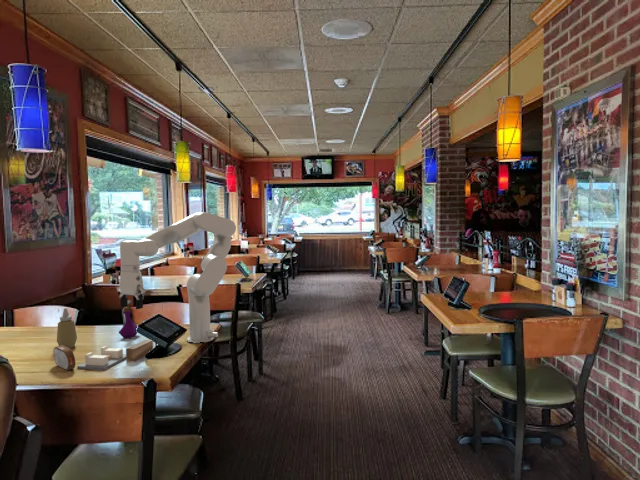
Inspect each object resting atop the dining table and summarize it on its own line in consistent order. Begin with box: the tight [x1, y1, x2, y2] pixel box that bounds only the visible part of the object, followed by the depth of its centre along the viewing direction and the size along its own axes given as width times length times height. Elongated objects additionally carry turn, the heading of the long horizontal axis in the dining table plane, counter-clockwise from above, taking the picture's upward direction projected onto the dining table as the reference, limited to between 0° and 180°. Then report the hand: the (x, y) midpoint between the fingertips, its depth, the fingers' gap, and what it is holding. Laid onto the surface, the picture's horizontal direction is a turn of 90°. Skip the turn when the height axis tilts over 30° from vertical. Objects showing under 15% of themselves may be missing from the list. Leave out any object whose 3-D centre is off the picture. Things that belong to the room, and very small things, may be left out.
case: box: [125, 339, 154, 363], centre depth 185 cm, size 4×13×6 cm, turn 167°
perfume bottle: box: [118, 300, 138, 339], centre depth 215 cm, size 8×8×18 cm
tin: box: [53, 345, 76, 371], centre depth 172 cm, size 15×3×8 cm, turn 51°
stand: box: [76, 345, 126, 371], centre depth 178 cm, size 12×16×5 cm
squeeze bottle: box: [56, 308, 78, 349], centre depth 199 cm, size 8×8×18 cm
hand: (131, 307), depth 191 cm, fingers open, 9 cm apart
